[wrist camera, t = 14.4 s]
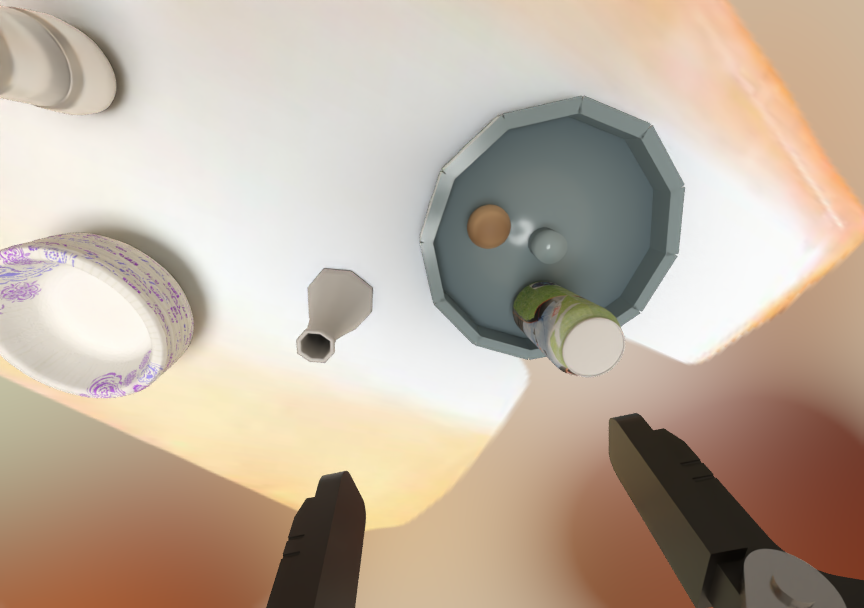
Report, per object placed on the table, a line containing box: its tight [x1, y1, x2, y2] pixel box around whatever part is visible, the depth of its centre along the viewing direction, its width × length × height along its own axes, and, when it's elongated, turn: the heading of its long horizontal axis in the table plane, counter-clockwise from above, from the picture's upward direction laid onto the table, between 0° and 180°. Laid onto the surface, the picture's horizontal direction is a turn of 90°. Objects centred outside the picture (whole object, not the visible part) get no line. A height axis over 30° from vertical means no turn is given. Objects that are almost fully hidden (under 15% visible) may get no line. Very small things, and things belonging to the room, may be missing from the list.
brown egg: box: [467, 204, 511, 249], centre depth 32 cm, size 4×4×4 cm
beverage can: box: [513, 281, 625, 377], centre depth 31 cm, size 6×7×12 cm
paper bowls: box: [0, 233, 194, 398], centre depth 33 cm, size 15×15×8 cm
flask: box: [296, 269, 373, 363], centre depth 33 cm, size 7×7×10 cm
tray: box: [420, 96, 685, 360], centre depth 34 cm, size 24×24×4 cm
